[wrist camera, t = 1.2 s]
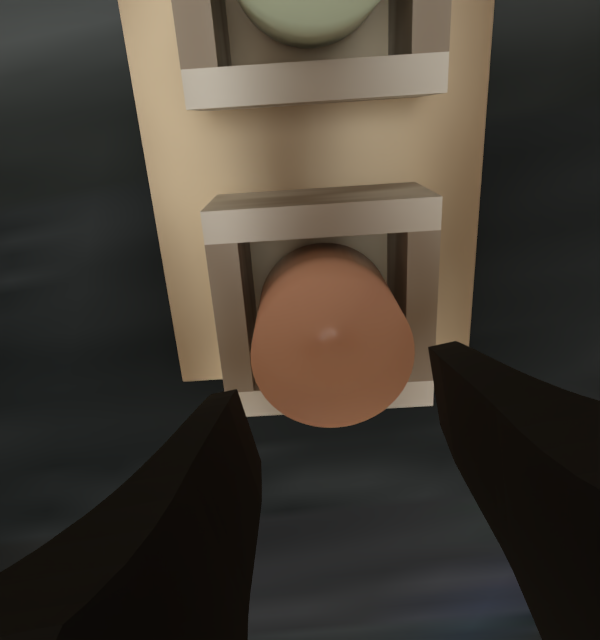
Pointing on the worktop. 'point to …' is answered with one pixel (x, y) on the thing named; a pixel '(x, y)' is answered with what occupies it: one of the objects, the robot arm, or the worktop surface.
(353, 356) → the terracotta key
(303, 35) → the sage key
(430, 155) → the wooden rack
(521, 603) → the worktop surface
